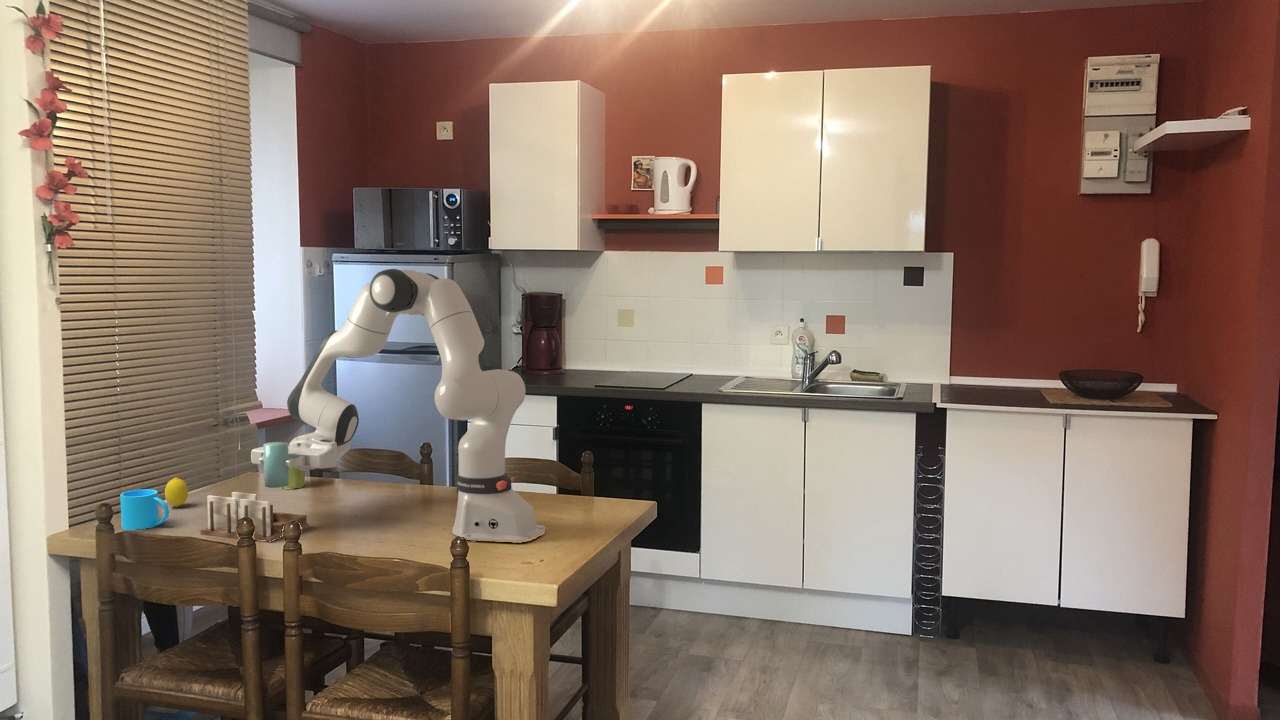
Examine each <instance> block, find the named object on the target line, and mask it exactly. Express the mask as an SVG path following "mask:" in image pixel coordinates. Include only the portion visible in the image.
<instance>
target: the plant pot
mask: <svg viewBox="0 0 1280 720" xmlns="http://www.w3.org/2000/svg"><path fill="white" fill-rule="evenodd" d="M305 480H306V471H302V470H299V469H297V468H295V467H291V468H290V467H289V485H288V486H285V487H281V488H282V489H283V488H290V489H291V490H294V489H302V488H303V487H305ZM290 489H289V490H290Z"/></svg>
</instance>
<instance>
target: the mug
mask: <svg viewBox="0 0 1280 720" xmlns="http://www.w3.org/2000/svg"><path fill="white" fill-rule="evenodd" d="M159 504H160V505H161V507H162V509H163V511H164V512H163V517H162V518H161V519H160V516H159V512H160V511H159ZM169 514H170V510H169V506H168V505H167V503H166V501H164V500H163V499H162V498H160V497H159V493H158V490H156V489H147V488H146V489H134V490H128V491H124V492H121V493H120V519H121V523H120V524H121V529H122V530H124V531H137V530H136V529H144V530H147V529H146V528H149V529H153V528H155V527H158V526H159V525H161V524H163V523H164V522H166V521H167V519H168V518H169V516H170V515H169Z"/></svg>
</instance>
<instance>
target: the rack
mask: <svg viewBox="0 0 1280 720" xmlns="http://www.w3.org/2000/svg"><path fill="white" fill-rule="evenodd" d="M206 501H207V503H206V505H207V527H205V528H202V529H200V530H199V531H200V535H206V536H213V537H222V538H230V539H237V540H239V539H238V536H237V533H236V525H237V522H238V520H239V519H241V518H243V517H249V518H251V519H252V520H253V522H254V524H255V534H254V538H255V540H257V539H258V540H266V541H272V540H274V539H277V538H280V536H281V539H283V538H282V529H283V526H284V525H285V524H286V523H287V522H289V521H297V522H298V523H300V525H301V527H302V529H303V530H305V529H308V528H309V527H310V526H309V523H308V517H307V515H306V514H298V513H289V512H283V511H282V512H280V511H275V512H274V506H273V504H271V502H270V501H265V500H258V493H257V494H256V493H246V492H238V491H233V492H231V497H227V496H218V495H217V496H216V495H209V494H208V495H207V496H206Z"/></svg>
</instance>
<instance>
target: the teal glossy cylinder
mask: <svg viewBox="0 0 1280 720" xmlns="http://www.w3.org/2000/svg"><path fill="white" fill-rule="evenodd" d="M288 446H289V442H286V441H272V442H266V443H263V446H262V447H264V466H263V470H264V471H263V474H264V475H263V476H264V479H263V480H264V487H265V488H269V489H273V488H274V489H278V488H282V487H285V486H288V485H289V467H285V460H287V459H289V450H288Z"/></svg>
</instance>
